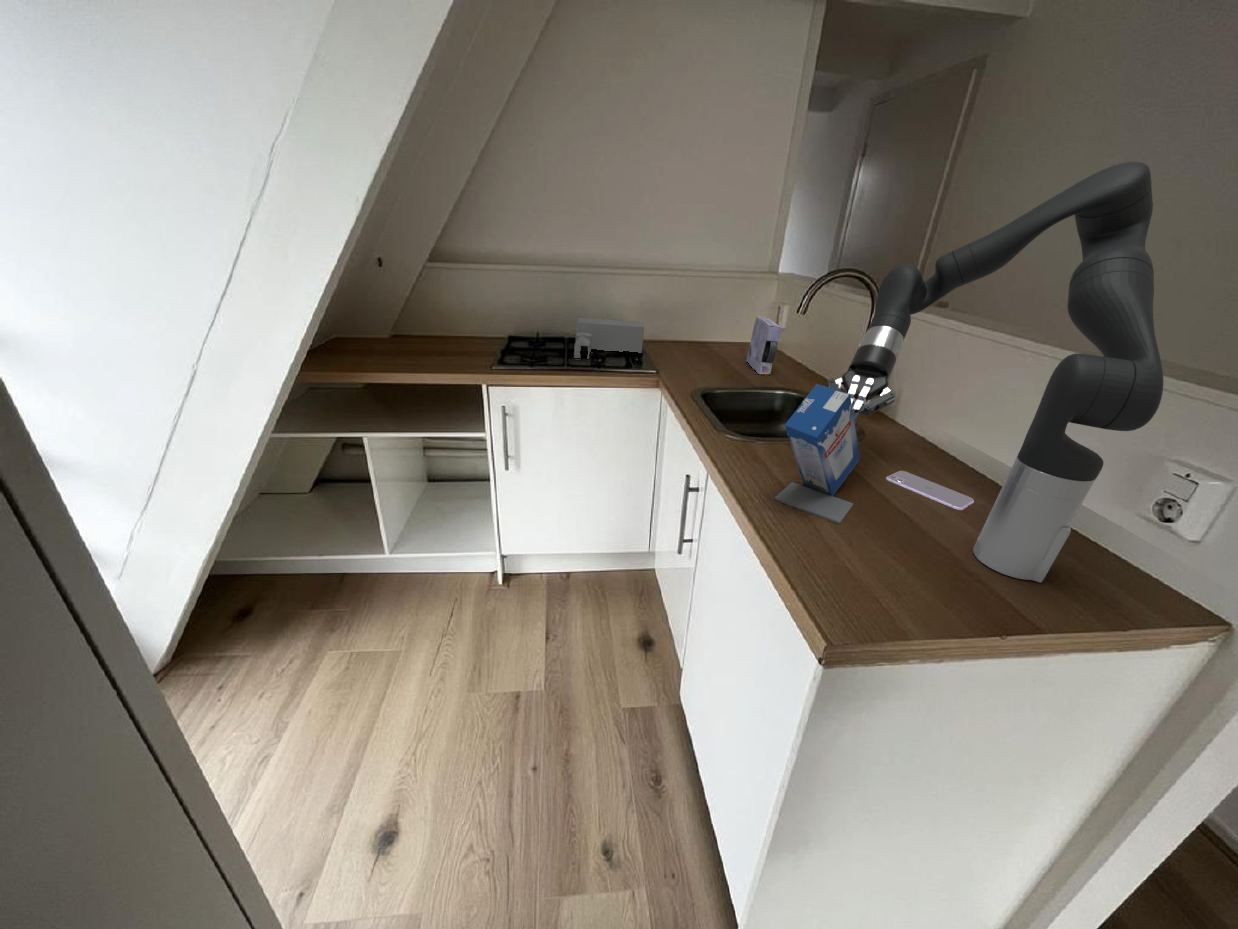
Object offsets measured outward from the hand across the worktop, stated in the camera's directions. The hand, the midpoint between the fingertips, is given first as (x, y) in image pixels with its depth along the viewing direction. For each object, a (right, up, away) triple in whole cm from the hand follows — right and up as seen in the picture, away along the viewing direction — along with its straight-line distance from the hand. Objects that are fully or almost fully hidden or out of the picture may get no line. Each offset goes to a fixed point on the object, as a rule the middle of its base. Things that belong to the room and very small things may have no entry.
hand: (844, 427), depth 94 cm
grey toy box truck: (-47, +35, +92) cm, 109 cm away
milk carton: (-1, -9, +4) cm, 9 cm away
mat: (-7, -14, -2) cm, 16 cm away
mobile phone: (+20, -13, +7) cm, 25 cm away
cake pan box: (+8, +28, +87) cm, 92 cm away
